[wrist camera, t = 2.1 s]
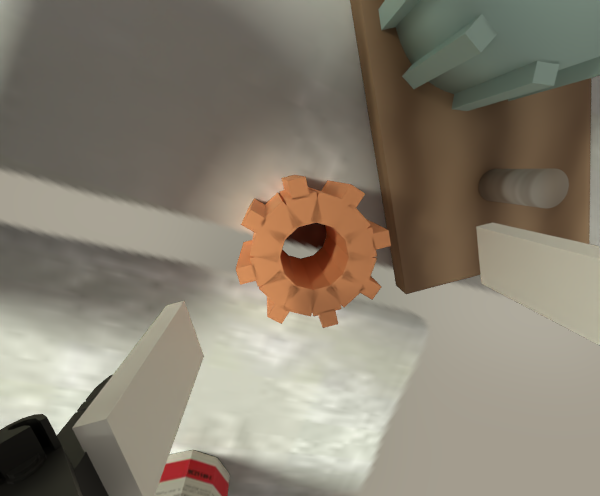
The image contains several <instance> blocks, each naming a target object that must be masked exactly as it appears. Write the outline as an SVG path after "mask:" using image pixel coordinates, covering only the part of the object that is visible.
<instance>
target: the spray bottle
mask: <svg viewBox="0 0 600 496" xmlns="http://www.w3.org/2000/svg"><path fill="white" fill-rule="evenodd" d="M229 478H230V474H229V473H228V472H227V470H226V469H225V468H224V466H223V465H222V463H221V462H220V461H219V459H218V458H217V457H214V456H211V455H207V454H204V453H201V452H198V451H195V450H190V451H185V452H180V453H175V454H170V455H169V456H168V459H167V462H166V465H165V467H164V470H163V473H162V476H161V479H160V482H159V484H158V487H157V490H156V493H155V496H227V495H228V487H229Z"/></svg>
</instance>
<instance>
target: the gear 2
mask: <svg viewBox="0 0 600 496" xmlns="http://www.w3.org/2000/svg"><path fill="white" fill-rule="evenodd" d="M378 10H379V17H380V24H381V30H385V29H389V28H394V27H396V31H397V34H398V37H399V40H400V43H401V45H402V48H403V50H404V52H405V54H406V56H407V57H408V59H409V61H410V62H411V64H412V65H411V66H410V68H409V69H408V70H407V71H406V72H405V73H404V75H403V76H402V77H403V78H404V79H405V80H406V81H407V82H408V83H409V85H410V86H411V87H412V88H413V89H415V88H417V87H419V86H421V85H423V84H424V83H426V82H430V83H431V84H433V85H434V86H435V87H437V88H439V89H441V90H443V91H446V92H449V93H452V94H454V98H453V104H452V109H453V110H462V111H469V110H473V109H476V108H480V107H483V106H486V105H490V104H493V103H497V102H500V101H504V100H507V99H508V101H511V100H515V99H518V98H522V97H525V96H529V95H532V94H536V93H539V92H543V91H547V90H550V89H554V88H557V87H561V86H564V85H568V84H571V83H575V82H578V81H582V80H585V79H589V78H592V77H596V76H600V0H385V1H384V2H383V4H382V5H381V7H380V8H379V9H378Z"/></svg>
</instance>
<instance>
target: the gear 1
mask: <svg viewBox="0 0 600 496" xmlns="http://www.w3.org/2000/svg"><path fill="white" fill-rule="evenodd" d="M282 181H283V185H284V190H283V191H280V194H279V193H277V194H276V195H275V196H274V197H273V198H271V199H270V200H269V201H268V202H267V203H266V204H265V205H264V204H263V203H261V202H259V201H258V200H256V199H254V200H253V201H252V203H251V205H250V207H249V208H248V210H247V212H246V215H245V217H244V219H243V221H242V224H241V225H243V226H245V227H246V228H248V229H250V230H252V231H253V232H254V235H253V240H251V241H247V242H244V243H243V246H242V249H241V253H240V256H239V259H238V263H237V267H236V272H237V275H238V278H239V282H240V285H241V284H244V283H248V282H252V281H256V282H257V285H258V286H259V289H260V290H261V291H262V292H263V293H264V294H265V295H266V296H267V317H269V318H271V319H273V320H275V321H277V322H279V323H281V324H282V322H283V321H284V319H285V318H286V316H287V314H288V313H289V311H290V312H294V313H299V314H303V315H307V316H311V314H312V313H313V316H316V315H318V316H319V319H320V321H321V324H322V327H323V328H325V327H328V326H332V325H336V324H338V321H337V316H336V312H335V310H339V309H341V305H342V306H343V307H345V306H346V305H347V304H348V303H349V302H351V301H352V300H353V299H354V298H355V297H356V296H357V295H358V294H359V293H362V294H363V295H365V296H367V297H369V298H370V299H373V298H374V297H375V295H376V294H377V292H378V291H379V290H380V288H381V286H380V285H379V284H378V283H377V282H376V281H375V280H374V279H373V278H372V277H371V273H372V271H373V268H374V265H375V262H376V260H377V258H375V256H377V253H376V250H377V249H381V248H385V247H389V246H391V242H390V236H389V230H387V229H385V228H383V227H381V226H379V225H377V224H375V223H373V222H371V221H369V220H367V219H365V218H364V217H363V215H362V214H361V213H360V212H359V211H358V210H357V209H356V207H357V206H358V204H359V203H360V201H361V200H362V198H363V196H364V195H365V193H363V192H362V191H360V190H359V189H357V188H356V187H354V186H353V185H351V184H345V183H339V182H333V181H327V182H326V184H325V185H324V187H323V189H322V190H321V191H319V190H316V189H313V188H309V187H308V185H307V181H306V177H304V176H298V175H292V176H288V177H284V178H282ZM280 195H281V196H280ZM312 223H320V224H323V225H325V228H326V233H327V235H326V238H325V241H324V245H323V247H322V248H321V249H320V250H319V251H318V252H317V253H315V254H314V255H313V256H310V257H306V258H302V259H300V258H296V257H293V256H288V255H287V254H286V253H285V252H284V251H283V250H282V248H283V245H284V241H285V239H286V238H287V237H288V236H289V235H290V234H292V233H293V232H294V231H295V230H296V229H297V228H298V227H300V226H304V225H308V224H312ZM340 304H341V305H340Z"/></svg>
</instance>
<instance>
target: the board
mask: <svg viewBox="0 0 600 496" xmlns="http://www.w3.org/2000/svg"><path fill="white" fill-rule="evenodd" d="M384 1H385V0H350V3H351V9H352V15H353V21H354V28H355V34H356V40H357V46H358V52H359V58H360V65H361V71H362V77H363V83H364V89H365V96H366V102H367V108H368V114H369V120H370V126H371V133H372V139H373V145H374V151H375V157H376V164H377V170H378V176H379V182H380V188H381V195H382V201H383V207H384V213H385V219H386V225H387V230H389V236H390V242H391V246H390V250H391V256H392V263H393V269H394V274H395V281H396V285H397V287H399V288H400V289H401V290H402V291H403V292H404V293H405V294H409V293H412V292H416V291H420V290H424V289H427V288H431V287H435V286H438V285H443V284H446V283H450V282H454V281H458V280H461V279H465V278H469V277H473V276H477V275H480V263H479V252H478V241H477V230H476V227H477V226H481V225H485V224H489V223H497V224H501V225H506V226H510V227H515V228H519V229H524V230H528V231H533V232H537V233H542V234H546V235H550V236H555V237H559V238H564V239H568V240H573V241H577V242H582V243H586V244H589V218H590V135H591V78H589V79H585V80H582V81H578V82H575V83H571V84H568V85H564V86H561V87H557V88H554V89H550V90H547V91H543V92H539V93H536V94H532V95H529V96H525V97H522V98H518V99H515V100H511V101H508V99H507V100H504V101H500V102H497V103H493V104H490V105H486V106H483V107H480V108H476V109H473V110H469V111H462V110H453V109H452V104H453V98H454V94H452V93H449V92H446V91H443V90H441V89H439V88H437V87H435V86H434V85H433V84H431V83H430V82H426V83H424V84H423V85H421V86H419V87H417V88H415V89H413V88H412V87H411V86H410V85H409V83H408V82H407V81H406V80H405V79H404V78H403V77H402V76H403V75H404V73H405V72H406V71H407V70H408V69H409V68H410V66H411V65H412V64H411V62H410V61H409V59H408V57H407V56H406V54H405V52H404V50H403V48H402V45H401V43H400V40H399V37H398V34H397V31H396V27H394V28H389V29H385V30H381V24H380V17H379V10H378V9H379V8H380V7H381V5H382V4H383V2H384Z"/></svg>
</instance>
